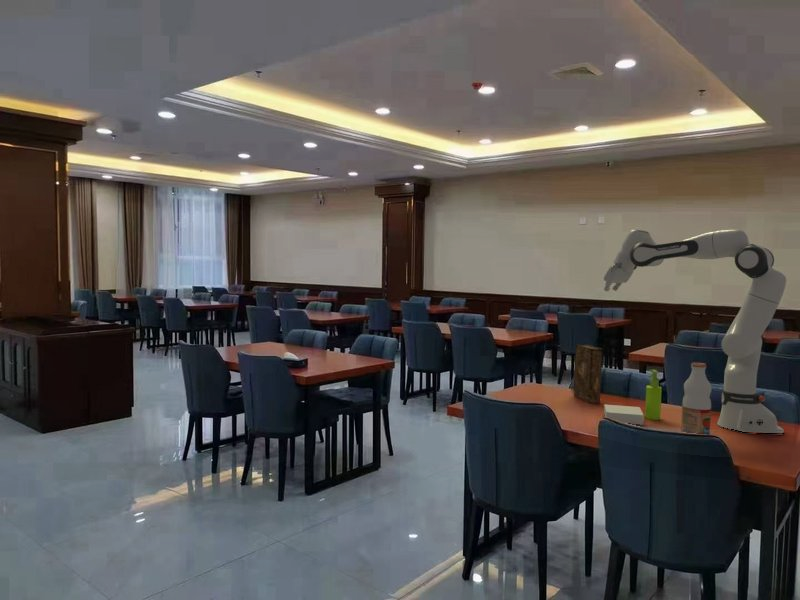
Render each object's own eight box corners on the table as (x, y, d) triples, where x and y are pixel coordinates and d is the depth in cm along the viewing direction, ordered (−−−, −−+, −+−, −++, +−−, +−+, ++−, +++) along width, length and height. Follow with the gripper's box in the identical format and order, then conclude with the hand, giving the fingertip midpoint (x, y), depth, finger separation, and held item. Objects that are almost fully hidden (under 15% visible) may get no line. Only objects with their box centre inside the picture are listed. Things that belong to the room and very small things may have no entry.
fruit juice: (680, 434, 224) (683, 360, 222) (708, 437, 220) (712, 362, 218) (681, 440, 215) (685, 364, 213) (710, 444, 211) (714, 366, 210)
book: (601, 403, 272) (603, 349, 270) (590, 403, 271) (592, 349, 269) (584, 395, 288) (586, 344, 286) (573, 395, 287) (575, 344, 285)
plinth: (639, 416, 249) (639, 407, 248) (643, 425, 235) (643, 415, 235) (603, 413, 252) (604, 404, 252) (606, 421, 239) (606, 412, 239)
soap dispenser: (655, 415, 251) (657, 368, 250) (662, 419, 244) (665, 371, 243) (641, 415, 251) (643, 368, 249) (648, 419, 244) (651, 371, 243)
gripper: (621, 266, 254) (606, 294, 259) (639, 266, 269) (624, 293, 274) (608, 259, 258) (594, 287, 262) (626, 260, 273) (612, 286, 278)
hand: (610, 290), depth 268 cm, fingers open, 8 cm apart
